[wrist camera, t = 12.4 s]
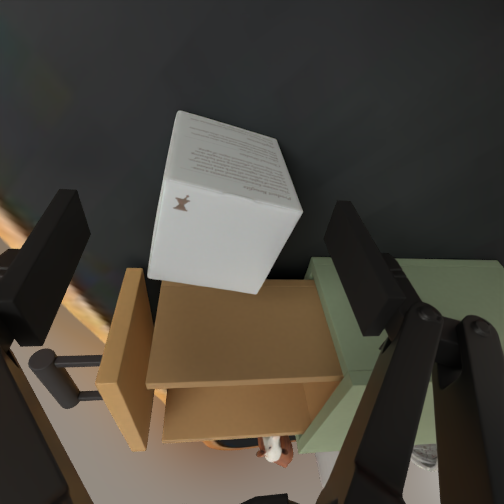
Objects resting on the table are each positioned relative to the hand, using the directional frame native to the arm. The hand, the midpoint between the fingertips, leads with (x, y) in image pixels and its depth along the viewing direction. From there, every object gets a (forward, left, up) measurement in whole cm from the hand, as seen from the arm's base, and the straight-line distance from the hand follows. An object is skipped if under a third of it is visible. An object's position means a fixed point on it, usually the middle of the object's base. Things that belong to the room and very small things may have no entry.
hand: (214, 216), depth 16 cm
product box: (0, 0, -5) cm, 5 cm away
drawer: (+15, -1, -4) cm, 15 cm away
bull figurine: (+42, +10, -5) cm, 43 cm away
